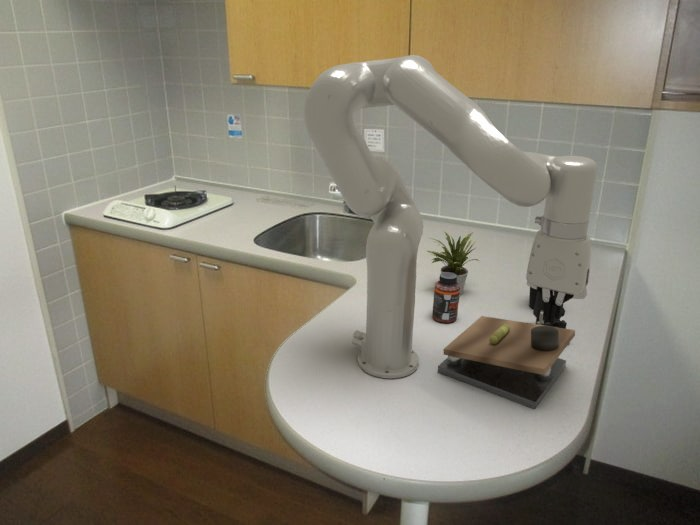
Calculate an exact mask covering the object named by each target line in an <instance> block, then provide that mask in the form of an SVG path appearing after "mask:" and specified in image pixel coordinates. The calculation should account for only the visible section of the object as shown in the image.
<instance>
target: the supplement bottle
mask: <svg viewBox="0 0 700 525" xmlns="http://www.w3.org/2000/svg"><path fill="white" fill-rule="evenodd" d="M438 278H439V279H438V280H437V281H436V282H435V284H434V291H433V303H432V318H433V320H435V321H437V322H439V323H443V324H449V323H453V322H455V321H456V320H457V318H458V312H459V310H458V309H459V300H460V295H459V294H460V285H459V284H458V283H457V275H456V274H454V273H451V272H443V273H441V272H440V274H439V277H438Z"/></svg>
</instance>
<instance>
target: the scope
mask: <svg viewBox="0 0 700 525" xmlns="http://www.w3.org/2000/svg"><path fill="white" fill-rule="evenodd" d="M557 295H558V292H557V291H554V298H557ZM544 304H545V302H544V301H543V297H542V296H541V295H540V293H539V292H537V297H536V302H535V304H534V310H533V312H532V313H533V316H534V317H535V324H538V325H545V326H551V327H558V328H564V329H567V322H566V321H565V320H564V319H562V320H561V318H563V317H564V316H565V314H566V309H565V308H564V307H563V310H562V316H561V318H560V319H558V320H557V321H556V322H555V323H554V324H551V323H550V322H548V323H547V322H545V315H543V311H544Z"/></svg>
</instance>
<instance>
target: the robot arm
mask: <svg viewBox="0 0 700 525" xmlns="http://www.w3.org/2000/svg"><path fill="white" fill-rule="evenodd" d="M304 102H305V103H304V108H303V118H304V124H305V128H306V131H307V133H308V136H309V138H310V140H311V142H312V143H313V145H314V147H315V149H316V151H317V152H318V154H319V156H320V158H321V159H322V161H323V163H324V166H325V167H326V168H327V171H328V172H329V175H330V177H331V178H332V180H333V182H334V183H335V186H336V187H337V190H338V191H339V192H340V194H341V196H342V198H343V200H344V202H345V204H346V206H347V207H348V208H349V209H350V210H351V211H352V212H353V213H355V214H356V215H358V216H360V217H363V218H364V217H365V218H367V217H368V218H369V217H370V218H371V220H372V222H373V223H374V224H372V227H371V229H370V231H369V233H368V235H367V239H366V244H365V245H366V246H365V257H366V279H367V281H366V316H365V317H366V318H365V319H366V320H365V321H366V322H365V332H364V331H361V330H359V329H357V330H355V331H354V332H353V335H352V339H351V344H353V345H355V346H358V347H360V350H359V352H358V354H357V362H358V366H359V368H360V369H361V370H363V371H364V372H365V373H367V374H369V375H371V376H374V377H378V378H383V379H399V378H405V377H406V376H410V375H411V374H413V373H414V372H415V371H417V369H418V367H419V362H420V359H419V356H418V354H417V353H416V351H415V350H414V349H413V340H414V339H413V337H414V323H415V321H414V319H415V309H416V308H415V306H416V286H417V259H418V251H419V246H420V243H421V239H422V236H423V232H424V221H423V217H422V215H421V213H420V211H419V208H418V207H417V205H416V203H415V201H414V198H413V197H412V195H411V193H410V192H409V190H408V187H407V186H406V184H405V182H404V180H403V179H402V177H401V175H400V174H399V171H398V170H397V168H396V167H395V166H394V165H393V164H392V163H391V162H390V161H389V160H387V159H386V158H383V157H379V156H374V155H373V153H372V151H371V150H370V147H369V146H368V144H367V142H366V140H365V137H363V135H362V133H361V131H360V130H359V129H358V128H357V126H356V124H355V122H354V119H353V117H354V114H355V112H357V111H360V109H370V108H376V107H377V108H378V107H388V106H395V107H397V109H399V110H400V111H401V112H402V113H404V114H405V115H406V116H407V117H409V118H410V119H411V120H413V121H414V122H416V124H418V125H419V126H421V127H422V128H423V129H424V130H426V131H427V132H428V133H429V134H431V136H433V137H435V139H437V140H439V142H440V143H441V144H443V145H444V146H445V147H446V148H447V149H448V150H449V151H450V152H451V153H452V154H453V155H454V156H455V157H456V158H458V159H459V161H461V162H462V163H463V164H464V165H465V166H466V167H467V168H468V169H470V171H472V172H473V174H475V175H476V176H477V178H479V179H480V180H482V181H483V182H484V183H485V184H486V185H487V186H489V187H490V188H491V189H493V190H494V192H495V191H496V193H498V194H499V195H501V196H502V197H503V198H505V199H506V200H507V201H508V202H510V203H511V204H514V205H516V206H519V207H524V208H527V207H535V206H536V205H538V204H541V203H542V202H543V201H544V200H545V203H544V211H543V215H540V216H538V215H536V216H535V219H534V224H536V225H539V226H540V230H537V232H536V233H535V235H534V240H533V242H532V246H531V250H530V254H529V259H528V263H527V269H526V274H525V275H526V276H525V278H526V285H527V286H528V287H529V288H530V287H532V288H534V289H537V291H538V292H539V293H540V295H541V296H542V297H543V301H544V302H545V304H544V311H543V315H545V322H547V323H548V322H550V323H551V324H554V323H555V322H556V321H557V320H558V319H560V320H561V318H562V317H561V316H562V310H563V308H564V303H566V302H568V301H570V300H571V299H574V300H584V299H586V297H587V295H588V292H587V291H588V290H587V285H588V283H589V279H590V272H591V259H592V258H591V256H592V255H591V254H592V252H591V251H592V250H591V249H592V248H591V237H590V236H588V229H589V222H590V216H591V212H592V211H591V210H592V203H593V196H594V191H595V185H596V178H597V170H598V165H597V163H596V161H595V160H594V159H592V158H590V157H586V156H580V155H560V156H558V155H550V154H544V153H540V152H539V153H538V152H533V151H522V150H521V149H519V148H518V147H517V146H516V145H515V144H514V143H512V141H510V140H509V139H508V138H507V137H505V135H503V133H501V131H499V130H498V129H497V127H496V126H495V125H494V124H493V123H492V122H491V120H490V118H489V117H488V116H487V114H486V113H485V112H484V110H483V109H482V108H481V107H480V106H479V105H478V104H477V103H476V102H474V101H473V100H472V99H471V98H470V97H468V96H467V95H466V94H464V93H463V92H461V91H460V90H459V89H458V88H456V86H454V85H453V84H451V83H450V82H449V81H448V80H446V79H445V78H444V77H443V76H442V75H440V74H439V73H438V72H437V71H436V70H435V68H434V66H433V65H432V63H431V61H429V60H428V59H426V58H425V57H422V56H420V55H417V54H411V55H404V56H399V57H393V58H385V59H374V60H367V61H357V62H349V63H344V64H338V65H335V66H331V67H330V68H328V69H326V70H324V71H323V72H321V73H320V74H319V76H318V77H317V78H316V79H315V81H314V82H313V83H312V85H311V87H310V88H309V90H308V92H307V95H306V98H305V101H304ZM554 291H557V292H558V295H557V298H554Z"/></svg>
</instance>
